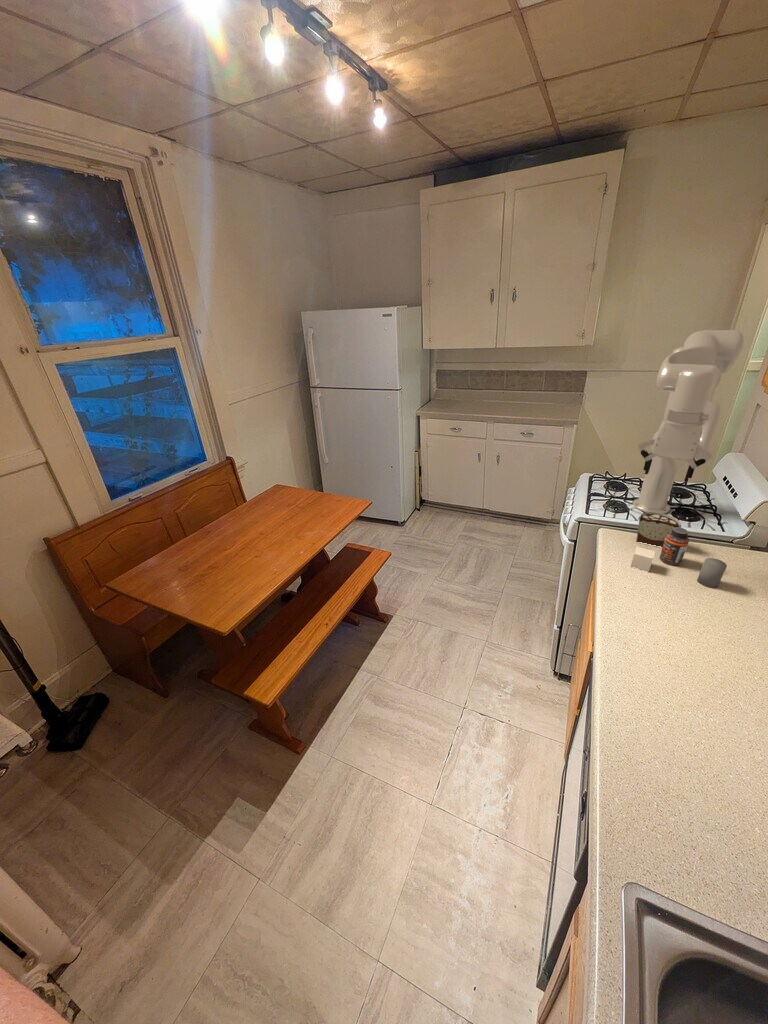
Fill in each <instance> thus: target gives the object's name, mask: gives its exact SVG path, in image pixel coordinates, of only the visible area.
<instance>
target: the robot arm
mask: <svg viewBox="0 0 768 1024" xmlns="http://www.w3.org/2000/svg"><path fill="white" fill-rule="evenodd" d="M744 345H745V338H744V334H743V333H742V332H741V331H739V330H736V329H723V330H722V329H720V330H718V329H716V330H715V329H703V330H699V331H696V332H693V333H691V334H690V335H689V336H687V338H686V339H685V341H684V344H683V346H681V347H678V348H675V349H674V350H673V351H672V352H671V354H669V355H668V356H666V358H664V360H663V361H662V363H661V365H660V367H659V370H658V373H657V376H656V384H655V385H656V388H657V389H658V390H659V391H661V392H664V393H665V392H666V393H669V395H668V398H667V401H666V405H665V408H664V414H663V420H662V421H661V423H660V426H659V427H658V430H657V431H656V432H655V433H654V434H653V437H652V439H650V440H646V441H642V442H640V443H639V444H638V446H637V447H638V449H639V451H640V452H639V453H640V455H641V456H642V458H644V461H645V462H644V466H643V469H642V470H643V471H644V478H643V482H642V486H641V489H640V493H639V497H638V498H636V499H634V500H633V501H632V506H633V507H634V508H635V509H636V510H638V511H641V512H644V513H647V512H656V513H662V514H667V513H669V512H670V510H671V506H670V505H669V504H668V501H669V497H670V494H671V491H672V488H673V484H674V482H675V478H676V475H677V472H678V469H679V468H678V463H677V462H676V460H679V461H685V462H687V463H688V464H689V466H688V468H687V471H686V474H685V478H684V482H688V481H689V479H692V478H693V475H694V472H695V469H696V468H698V467H700V466H702V465H704V464H705V463H706V462H708V461H709V460H710V459H711V458H712V457H713V455H714V454H713V453H714V452H711V451H710V448H711V444H712V443H713V439H714V435H715V431H716V428H717V425H718V423H719V419H720V415H721V405H720V403H718V402H717V401H714V400H708V399H709V395H710V393H712V392H713V391H714V390H715V389H717V387H718V386H719V385H720V383H721V380H722V377H723V375H725V374H727V373H729V372H730V371H731V370H732V368H733V367H734V365H735V363H736V362H737V360H738V359H739V357H740V355H741V354H742V350H743V348H744ZM649 446H650V447H651V448H650V449H651V450H650V452H648V450H646V447H649Z"/></svg>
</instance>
